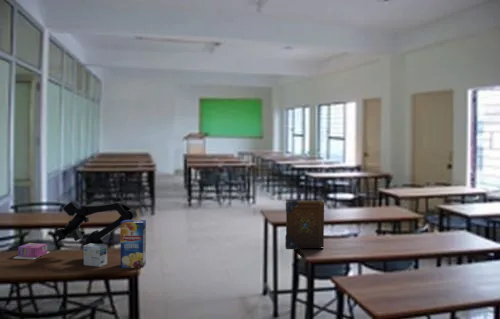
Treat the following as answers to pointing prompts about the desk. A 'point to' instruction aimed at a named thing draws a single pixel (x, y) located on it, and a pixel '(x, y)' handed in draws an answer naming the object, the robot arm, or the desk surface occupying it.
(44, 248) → the box
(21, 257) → the mat
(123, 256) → the juice carton
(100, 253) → the light bulb box
